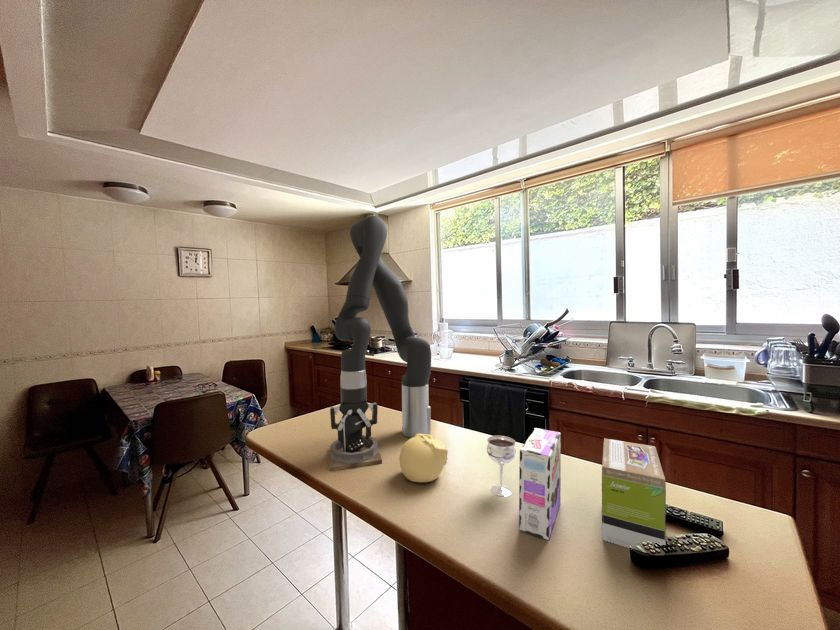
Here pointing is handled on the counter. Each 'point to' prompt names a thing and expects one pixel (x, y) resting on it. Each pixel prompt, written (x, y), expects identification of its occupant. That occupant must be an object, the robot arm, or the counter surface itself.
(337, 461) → the ring collar
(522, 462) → the candy box
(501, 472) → the wineglass
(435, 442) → the sculpture
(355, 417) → the battery charger
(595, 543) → the counter surface
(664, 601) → the counter surface
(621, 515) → the tea box
